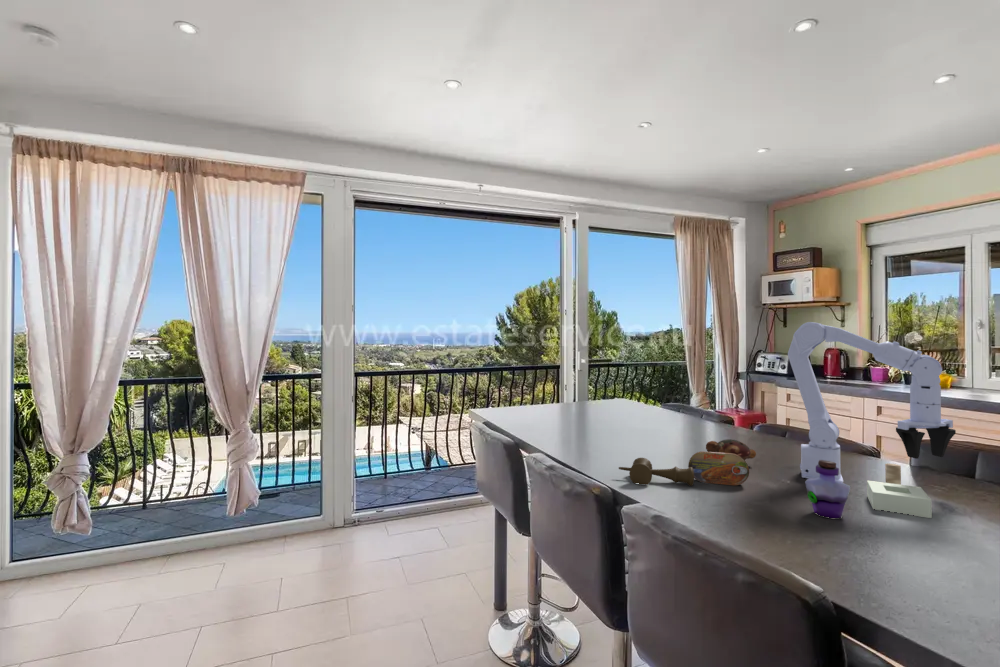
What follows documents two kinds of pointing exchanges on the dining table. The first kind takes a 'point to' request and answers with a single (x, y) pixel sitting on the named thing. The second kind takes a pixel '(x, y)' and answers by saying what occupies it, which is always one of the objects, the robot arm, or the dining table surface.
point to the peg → (893, 473)
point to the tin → (719, 468)
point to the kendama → (657, 473)
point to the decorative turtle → (731, 448)
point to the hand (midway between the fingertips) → (925, 456)
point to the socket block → (899, 498)
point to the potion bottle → (827, 491)
